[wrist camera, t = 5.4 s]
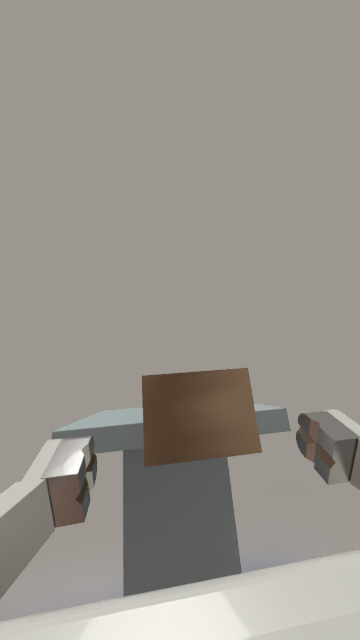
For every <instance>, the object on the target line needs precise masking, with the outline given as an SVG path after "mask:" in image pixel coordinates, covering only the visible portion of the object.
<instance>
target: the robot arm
mask: <svg viewBox="0 0 360 640" xmlns="http://www.w3.org/2000/svg"><path fill="white" fill-rule="evenodd" d="M298 423H299V425H300V428H299V430H298V431H297V433H296V440H297V444H298V448H299V449H300V451H301V453H302V454H303V455H304V457H305V458H307V459H308V460H310V461H312V462H314V468H315V470H316V471H317V472H318V473H319V475H320V476H321V477H322V478H323V479H324V480H325V482H326V483H327V484H337V483H344V482H350V484H352V485H353V486H355V487H356V488H358V489H360V426H359V425H358V424H357V423H355V422H354V421H353V420H351V419H350V418H348V417H347V416H346V415H344V414H343V413H342V412H340V411H338V410H336V409H333V410H325V411H319V412H311V413H302V414H300V415H299V417H298ZM94 447H95V441H94V437H93V436H85V437H73V438H64V439H52V440H48V441H47V442H46V443H45V444H44V446H43V447H42V449H41V451H40V452H39V454H38V456H37V457H36V459H35V460H34V462H33V464H32V465H31V467H30V469H29V470H28V472H27V473H26V475H25V476H24V478H23V480H22V481H21V482H16V483H15V484H13V485H12V486H11V487H10V488H8V489H7V490H6V491H4V492H3V493H2V494H0V599H1V598H2V596H3V595H4V594H5V592H6V591H7V590H8V589H9V588H10V586H11V585H12V584H13V582H14V581H15V580H16V578H17V577H18V576H19V574H21V572H22V571H23V569H24V568H25V567H26V566H27V565H28V563H29V562H30V561H31V560H32V558H33V557H34V556H35V554H36V553H37V552H38V551H39V549H40V548H41V547H42V546H43V544H44V543H45V542H46V540H47V539H48V538H49V537H50V535H51V534H52V533H53V532H54V530H55V527H61V526H66V525H72V524H77V523H82V522H85V518H86V514H87V511H88V507H89V503H90V493H89V491H90V490H91V489H92V488H93V487H94V484H95V480H96V472H97V457H96V455H95V454H94V453H93V451H94ZM0 640H360V550H356V551H351V552H346V553H341V554H336V555H331V556H326V557H321V558H316V559H311V560H306V561H301V562H296V563H291V564H286V565H281V566H276V567H271V568H266V569H261V570H256V571H251V572H246V573H241V574H236V575H231V576H226V577H221V578H216V579H211V580H206V581H201V582H196V583H191V584H186V585H180V586H175V587H170V588H165V589H160V590H155V591H150V592H145V593H140V594H135V595H130V596H125V597H120V598H116V599H110V600H105V601H101V602H95V603H90V604H85V605H80V606H76V607H70V608H65V609H60V610H56V611H50V612H46V613H40V614H35V615H30V616H25V617H20V618H16V619H10V620H5V621H1V622H0Z"/></svg>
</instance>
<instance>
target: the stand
mask: <svg viewBox="0 0 360 640" xmlns="http://www.w3.org/2000/svg"><path fill="white" fill-rule="evenodd" d="M254 408H255V414H256V420H257V426H258V432H259V435H260V434H268V433H277V432H286V431H291V430H290V425H289V420H288V415H287V411H286V408H281V407H274V406H267V405H260V404H254ZM85 436H93V437H94V441H95V447H94V451H93V453H94V454H95V453H104V452H112V451H121V450H123V536H124V537H123V538H124V539H123V541H124V542H123V545H124V546H123V556H124V557H123V559H124V560H123V562H124V563H123V566H124V597H125V596H130V595H135V594H140V593H145V592H150V591H155V590H160V589H165V588H170V587H175V586H180V585H186V584H191V583H196V582H201V581H206V580H211V579H216V578H221V577H226V576H231V575H236V574H241V573H242V572H241V564H240V556H239V548H238V541H237V532H236V524H235V516H234V508H233V501H232V492H231V484H230V476H229V469H228V460H227V457H222V458H214V459H206V460H198V461H190V462H182V463H174V464H166V465H158V466H150V467H144V434H143V407H142V408H131V409H120V410H110V411H102V412H99V413H97V414H95V415H92V416H90V417H87V418H85V419H82V420H80V421H78V422H75V423H73V424H70V425H68V426H65V427H63V428H60V429H58V430H56V431H53V432H52V439H64V438H73V437H85Z"/></svg>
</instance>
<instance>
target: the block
mask: <svg viewBox="0 0 360 640" xmlns="http://www.w3.org/2000/svg"><path fill="white" fill-rule="evenodd" d="M142 395H143V396H142V397H143V434H144V467H150V466H158V465H166V464H174V463H182V462H190V461H198V460H206V459H214V458H222V457H230V456H237V455H245V454H253V453H261V452H262V450H261V444H260V438H259V432H258V426H257V420H256V414H255V408H254V402H253V396H252V390H251V384H250V378H249V373H248V368H241V369H227V370H214V371H200V372H187V373H174V374H162V375H147V376H142Z"/></svg>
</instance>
